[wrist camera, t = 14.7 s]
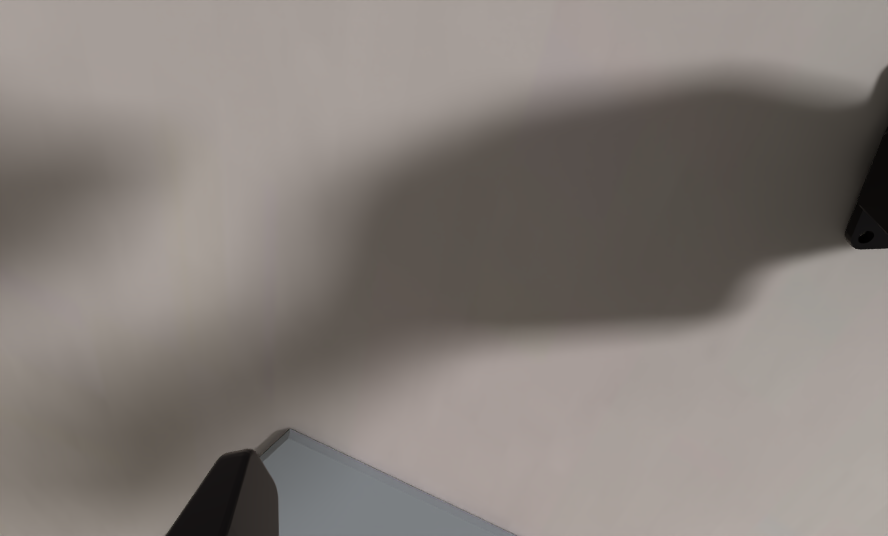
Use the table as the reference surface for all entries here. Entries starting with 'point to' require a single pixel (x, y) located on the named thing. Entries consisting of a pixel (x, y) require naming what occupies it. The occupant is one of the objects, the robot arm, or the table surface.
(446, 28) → the table surface
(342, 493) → the rubber mat
